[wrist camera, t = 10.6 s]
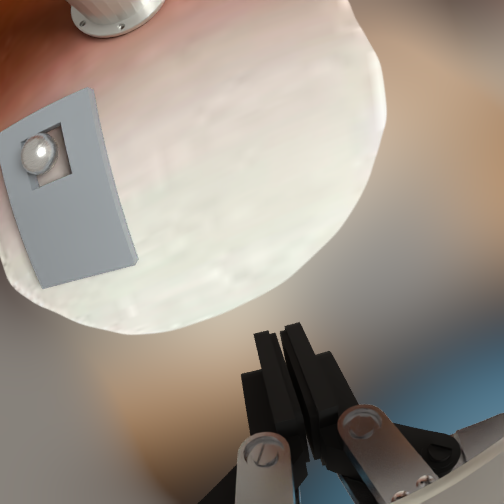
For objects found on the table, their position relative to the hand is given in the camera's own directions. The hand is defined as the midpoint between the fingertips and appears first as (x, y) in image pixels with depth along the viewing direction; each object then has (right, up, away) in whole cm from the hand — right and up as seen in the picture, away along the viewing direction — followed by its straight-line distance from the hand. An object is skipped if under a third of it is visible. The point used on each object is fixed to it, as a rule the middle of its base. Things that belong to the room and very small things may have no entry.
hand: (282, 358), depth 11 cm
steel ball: (-26, +15, +17) cm, 35 cm away
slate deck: (-25, +11, +22) cm, 35 cm away
